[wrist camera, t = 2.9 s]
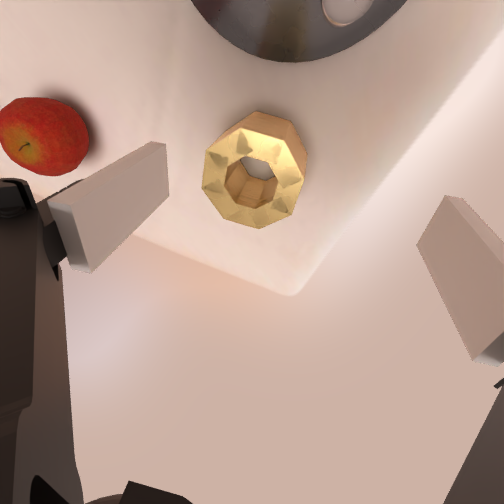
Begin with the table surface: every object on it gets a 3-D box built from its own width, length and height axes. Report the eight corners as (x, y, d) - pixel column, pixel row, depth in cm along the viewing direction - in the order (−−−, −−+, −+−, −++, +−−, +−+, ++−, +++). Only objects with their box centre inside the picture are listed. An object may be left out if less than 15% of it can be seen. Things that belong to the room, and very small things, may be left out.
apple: (116, 149, 34) (71, 173, 28) (72, 169, 37) (23, 194, 31) (71, 79, 30) (9, 89, 24) (26, 107, 33) (-40, 123, 27)
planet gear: (218, 183, 34) (198, 211, 29) (230, 103, 29) (209, 119, 23) (289, 204, 34) (283, 236, 29) (316, 128, 29) (314, 149, 23)
